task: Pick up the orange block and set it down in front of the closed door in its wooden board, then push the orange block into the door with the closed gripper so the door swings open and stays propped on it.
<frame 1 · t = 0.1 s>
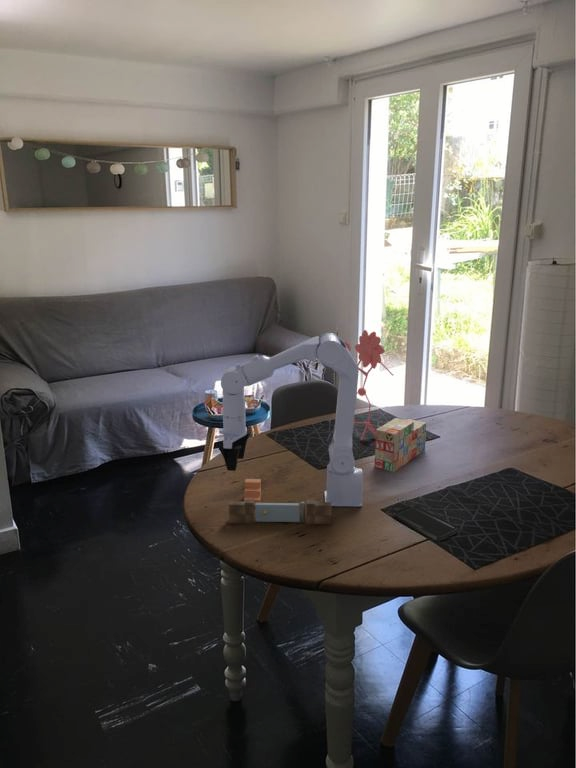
hand: (235, 464, 165), 10 cm above the table, tool pointing down, fingers open, 7 cm apart
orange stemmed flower: (366, 432, 215), on the table
stack of blocks: (400, 459, 194), on the table
orange block: (252, 501, 166), on the table
door: (280, 512, 155), point 3 cm above the table, hinge at 0.0°
phone: (424, 525, 155), on the table
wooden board: (277, 521, 156), on the table
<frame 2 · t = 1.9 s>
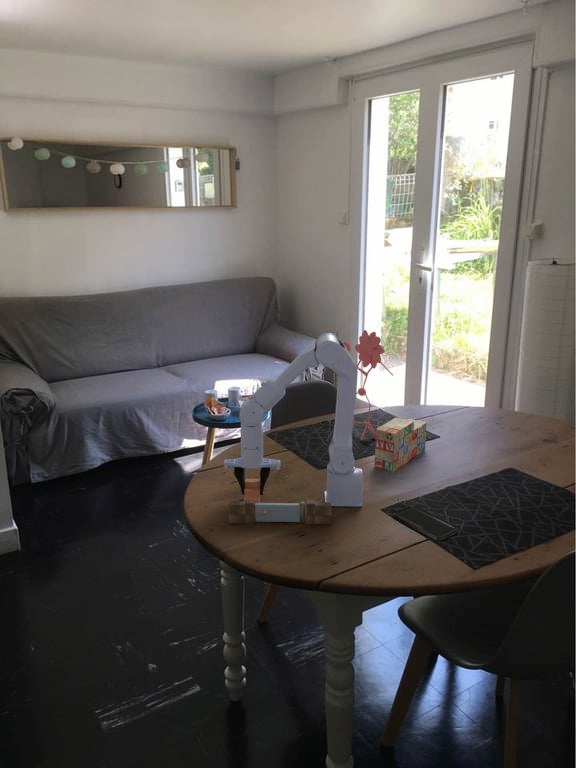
hand: (252, 493, 167), 2 cm above the table, tool pointing down, fingers closed on orange block, 4 cm apart
orange block: (252, 501, 166), on the table, touching gripper
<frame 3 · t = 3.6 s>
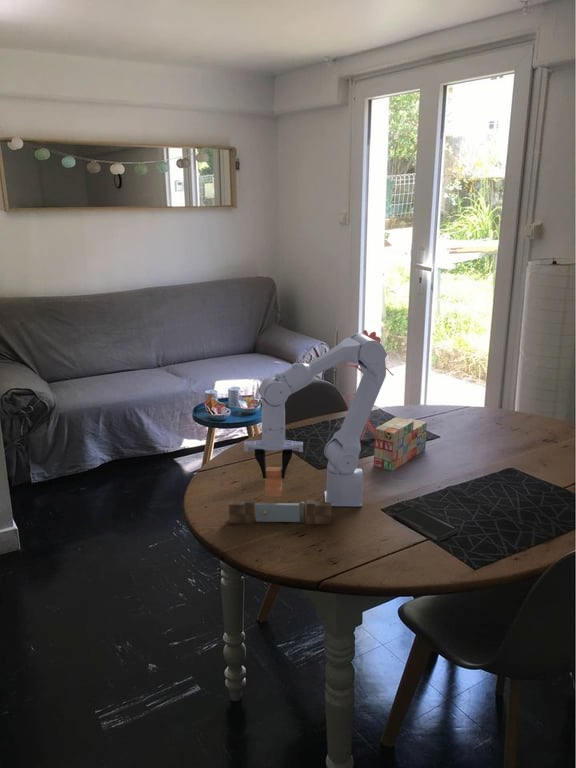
hand: (273, 476, 160), 9 cm above the table, tool pointing down, fingers closed on orange block, 4 cm apart
orange block: (273, 490, 160), point 6 cm above the table, tilted 6°, touching gripper
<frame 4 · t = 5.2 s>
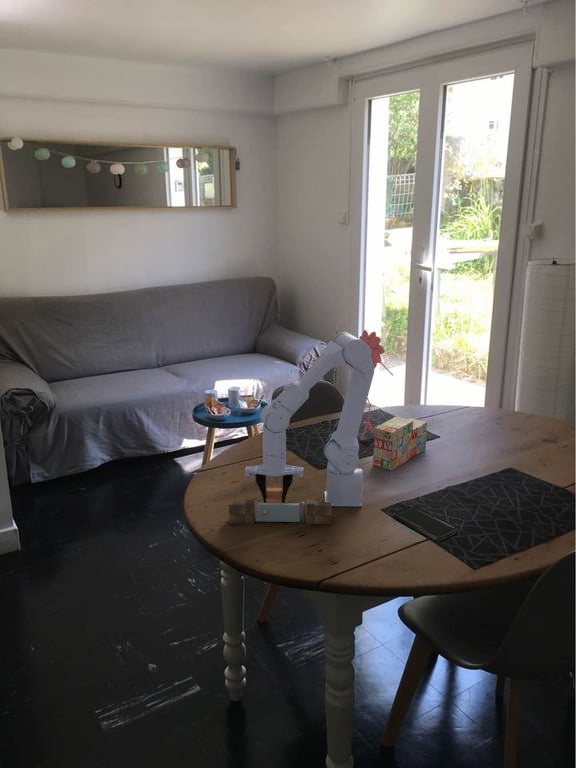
hand: (274, 501, 161), 2 cm above the table, tool pointing down, fingers closed on orange block, 4 cm apart
orange block: (274, 511, 161), on the table, touching gripper
when the fingers open (2 cm above the table, at t = 5.3 s): orange block stays where it is, on the table.
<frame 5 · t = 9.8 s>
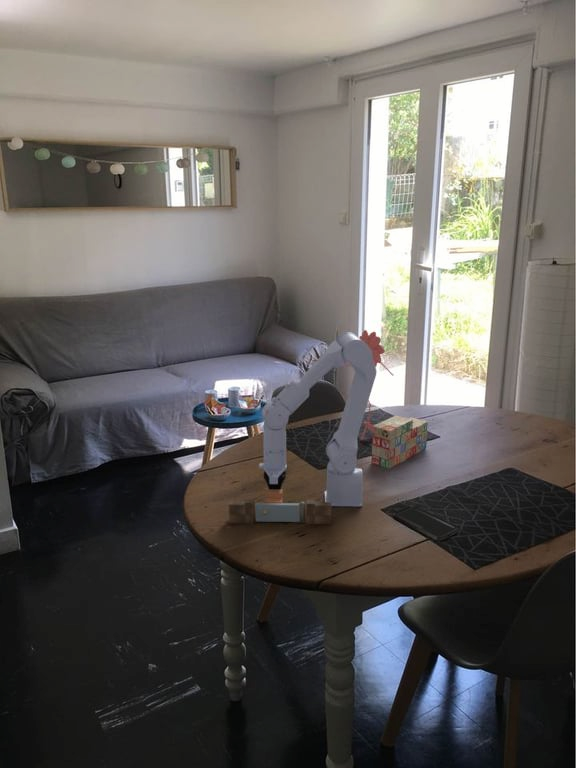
hand: (274, 497, 164), 2 cm above the table, tool pointing down, fingers closed
orange block: (274, 512, 160), on the table, touching gripper
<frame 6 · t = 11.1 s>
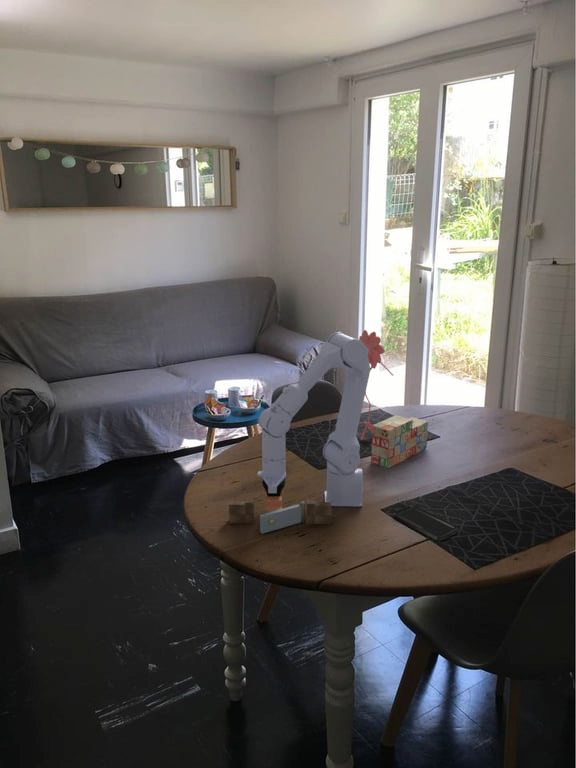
hand: (273, 506, 159), 2 cm above the table, tool pointing down, fingers closed, pressing on orange block
orange block: (274, 520, 156), on the table, touching door, gripper
door: (283, 518, 152), point 3 cm above the table, hinge at 31.6°, touching orange block
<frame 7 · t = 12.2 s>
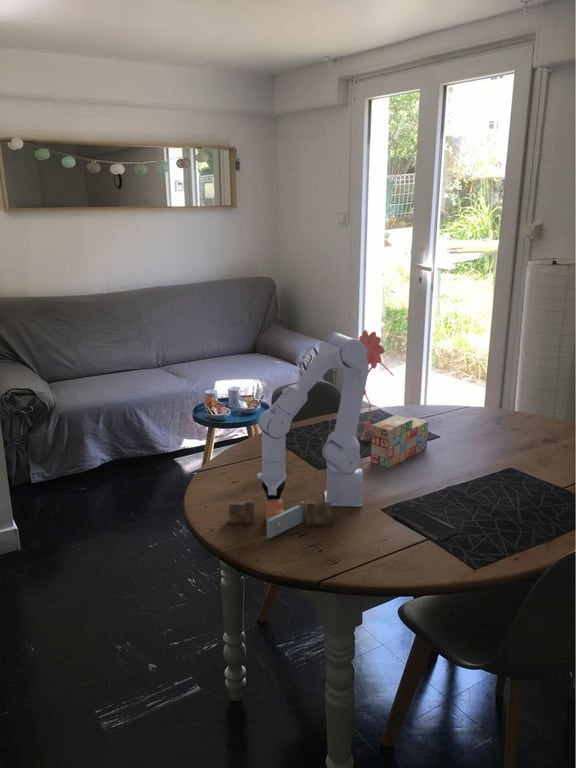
hand: (273, 508, 158), 2 cm above the table, tool pointing down, fingers closed
orange block: (275, 523, 155), on the table, touching door, gripper
door: (287, 520, 151), point 3 cm above the table, hinge at 45.9°, touching orange block
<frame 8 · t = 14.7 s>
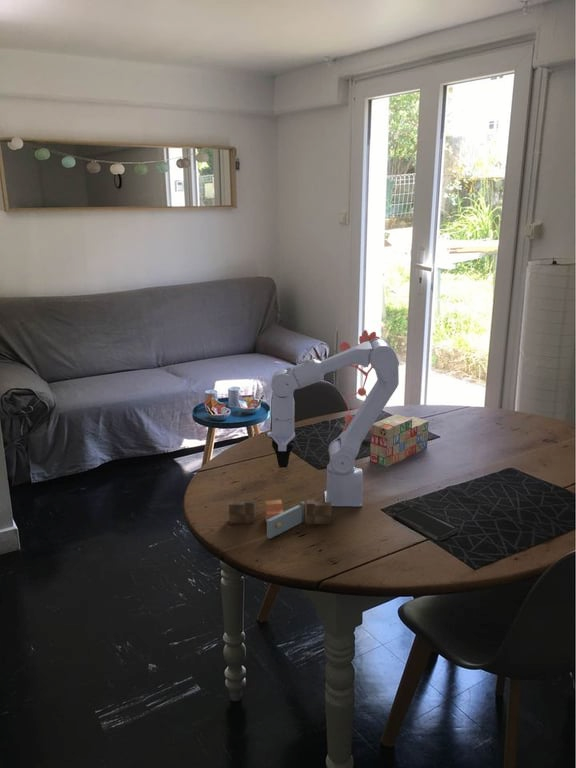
hand: (283, 466, 165), 9 cm above the table, tool pointing down, fingers closed
orange block: (274, 524, 155), on the table, touching door
door: (287, 520, 151), point 3 cm above the table, hinge at 46.3°, touching orange block
at the end: door at +46° (first picture: +0°); orange block inside the target area (0.9 cm from its centre), on the table; the gripper is holding nothing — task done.
